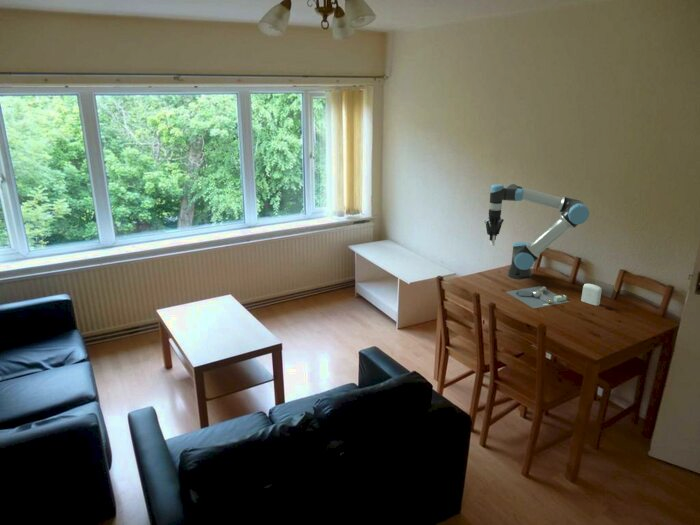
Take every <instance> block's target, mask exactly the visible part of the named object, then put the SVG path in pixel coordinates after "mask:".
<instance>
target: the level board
mask: <svg viewBox="0 0 700 525" xmlns="http://www.w3.org/2000/svg"><path fill="white" fill-rule="evenodd" d="M541 287H542V286H540V285H539V286H533V287H528V288H521V289H515V290H510V291H505V293H507V294H508V295H510V296H511V297H513V298H514V299H515V298H516V299H517V300H518V301H519V302H522V303H524V304H525V305H527V306H528V307H531V308H532V309H537V308H538V309H539V308H543V307H549V306H554V305H560V304H565V303H570V302H571V301H570V300H568V299H567V295H565V294H559V295H558V294H556V293H555V292H552V291H550V290H549V289H547V288H546V291H545V292H544V293H543V294H544V295H546V296H548V297H549V298H551V299H552V303H547V302H545V301H543V300H541V299H540V298H534V297H532V296H518V295H517V294H516V292H517V291H518V290H522V291H533V290H539V289H540V288H541Z"/></svg>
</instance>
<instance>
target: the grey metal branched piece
mask: <svg viewBox="0 0 700 525" xmlns="http://www.w3.org/2000/svg"><path fill="white" fill-rule="evenodd" d="M546 289H547V287H546V286H541V288H540V289H539V290H533V291H522V290H520V289H517V290H518V291H517V292H516V294H517V295H518V296H532V297H534V298H540V299H541V300H543V301H545V302H547V303H552V299H551V298H549V297H548V296H546V295H544V294H543V293H544V292H545V291H546Z"/></svg>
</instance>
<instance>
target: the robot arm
mask: <svg viewBox="0 0 700 525" xmlns="http://www.w3.org/2000/svg"><path fill="white" fill-rule="evenodd" d="M503 201H510V202H511V201H512V202H513V201H514V202H521V201H526V202H530V203H533V204H537V205H541V206H544V207H547V208H551V209H555V210H557V211H558V212H560V214H559V219H557V220H556V221H554V222H553V223H552V225H550V226H549V227H548V228H547V229H546V230H545V231H543V232H542V233H540V235H538V236H537V238H535V239H534V240H533V241H532V242H531V243H530V242H525V241H524V242H523V241H516V242H513V246H512V252H511V253H512V256H511V263H510V266H509V269H508V271H507V276H508V277H510V278H511V279H515V280H516V279H517V280H525V279H530V278H532V270H531V268H532V267H533V265H534V264H535V262H536V261H537V260H538V259H539V258H540V255H541V254H542V253H543V252H545V250H546V249H547V248H549V247H550V246H551V245H552V244H554V242H555V241H557V240H558V239H559V238H560V237H562V236H563V235H564V234H565V233H566V232H567V231H569V230H570V229H574V228H576V227H577V226H578V225H582V224H584V223H585V222H587V220H588V219H589V217H590V211H589V207H588V206H587V205H586V204H584V202H583V201H581V200H579V199H577V198H576V199H574V198H571V197H566V196H563V197H559V196H557V195H553V194H549V193H544V192H542V191H537V190H534V189H530V188H527V187H522V186H519V185H517V184H515V183H510V184H508V185H507V186H506V187H504V185H503V184H499V183H498V184H497V183H495V184H492V185H491V186H490V193H489V206H488V208H489V210H488V217H487V220H484V224H485V228H486V235H488V236H489V245H490V246H492V247H494V246H495V245H496V244H495V242H496V238H497V236H498V235H500V231H501V228H502V224H503V222H504V219H503V218H501V215H502V206H503Z"/></svg>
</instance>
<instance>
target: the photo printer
mask: <svg viewBox="0 0 700 525" xmlns="http://www.w3.org/2000/svg"><path fill="white" fill-rule="evenodd" d="M602 290H603V289H602V287H600V286H599V285H596V284H593V283H584V285H583V286H582V292H581V298H580V300H581V302H583V303H586V304H589V305H594V306H600V304H601V297H602Z"/></svg>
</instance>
